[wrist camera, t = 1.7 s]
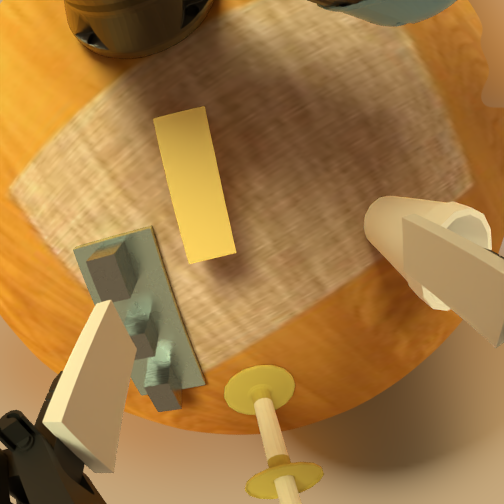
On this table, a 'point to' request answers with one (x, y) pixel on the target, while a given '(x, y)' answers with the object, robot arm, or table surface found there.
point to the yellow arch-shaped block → (194, 184)
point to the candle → (271, 432)
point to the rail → (143, 312)
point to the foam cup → (442, 213)
